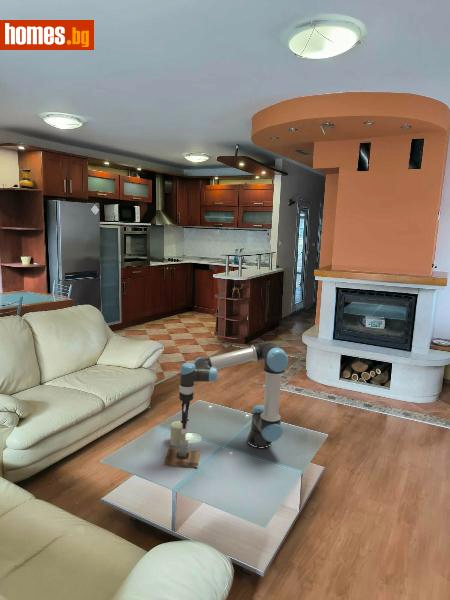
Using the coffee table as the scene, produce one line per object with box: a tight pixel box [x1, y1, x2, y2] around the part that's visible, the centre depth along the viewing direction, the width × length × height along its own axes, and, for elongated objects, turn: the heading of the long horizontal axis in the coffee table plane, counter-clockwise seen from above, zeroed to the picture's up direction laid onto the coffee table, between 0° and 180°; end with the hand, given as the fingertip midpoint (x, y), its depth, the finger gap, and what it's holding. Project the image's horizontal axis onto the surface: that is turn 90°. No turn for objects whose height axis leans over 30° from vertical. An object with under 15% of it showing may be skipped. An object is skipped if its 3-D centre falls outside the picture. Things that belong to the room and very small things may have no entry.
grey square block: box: [177, 439, 189, 459], centre depth 224 cm, size 4×4×11 cm
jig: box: [163, 445, 201, 468], centre depth 224 cm, size 18×12×5 cm, turn 89°
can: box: [169, 420, 187, 448], centre depth 241 cm, size 9×9×12 cm
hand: (183, 432), depth 222 cm, fingers closed
